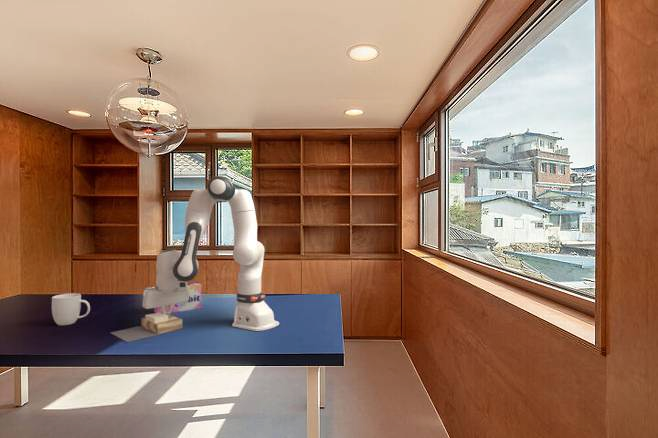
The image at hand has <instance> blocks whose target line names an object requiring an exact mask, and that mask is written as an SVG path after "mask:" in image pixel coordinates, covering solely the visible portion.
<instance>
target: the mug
mask: <svg viewBox="0 0 658 438" xmlns="http://www.w3.org/2000/svg"><path fill="white" fill-rule="evenodd" d="M82 303H84V304H85V305H86V306H87V307H86V308H87V310H86V312H85V313H84V314H83V315H80V313H81V308H82ZM90 312H91V306H90V302H88V301H87V300H86V299H82V294H81V293H76V292H75V293H63V294H58V295H54V296H52V297H51V314H52V318H53V320H54V322H55V323H56V325H58V326H68V325H69V326H70V325H72V324H75V323H76V322H77V321H78V319H82V318H84V317H87V315H89V313H90Z"/></svg>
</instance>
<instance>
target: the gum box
mask: <svg viewBox="0 0 658 438" xmlns="http://www.w3.org/2000/svg"><path fill="white" fill-rule="evenodd" d="M187 283H188V286H187V288H188V290H189V300H188V301H187V302H183V303H177V304H173V308H172V310H171V313H178V312H186V311H192V310H200V309H202V289H203V288H202V283H200V282H198V281H197V282H196V281H195V282H187ZM168 308H169V306H168V305H167V306H165V308H164V309H165V311H167V310H168ZM153 312H154V313H158V312H160V313H162V314H163V311H162V310H161V309H160V307H156V308H153Z"/></svg>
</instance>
